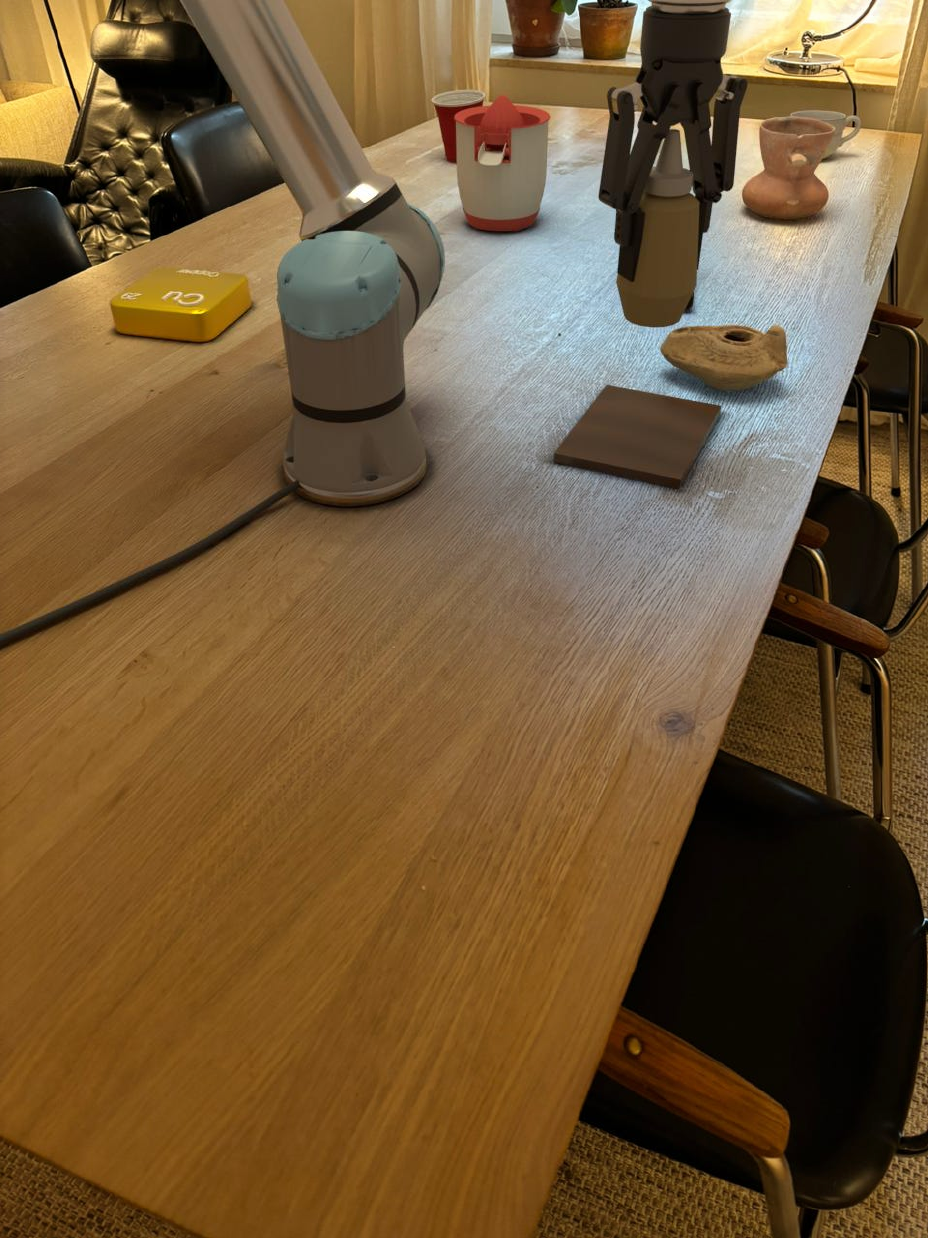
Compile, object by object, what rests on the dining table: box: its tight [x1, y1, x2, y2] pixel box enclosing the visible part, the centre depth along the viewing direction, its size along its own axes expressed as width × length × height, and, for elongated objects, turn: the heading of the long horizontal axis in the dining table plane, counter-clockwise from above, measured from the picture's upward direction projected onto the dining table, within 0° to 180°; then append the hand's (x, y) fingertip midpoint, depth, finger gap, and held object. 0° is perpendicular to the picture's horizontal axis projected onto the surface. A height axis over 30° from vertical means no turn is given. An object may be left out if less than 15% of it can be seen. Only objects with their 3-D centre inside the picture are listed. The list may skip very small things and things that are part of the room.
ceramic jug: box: [741, 115, 835, 220], centre depth 170 cm, size 18×14×14 cm
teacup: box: [789, 109, 862, 160], centre depth 199 cm, size 14×11×8 cm
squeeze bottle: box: [615, 128, 700, 328], centre depth 98 cm, size 8×8×18 cm
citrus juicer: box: [454, 94, 551, 233], centre depth 165 cm, size 16×17×20 cm
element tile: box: [109, 266, 252, 343], centre depth 139 cm, size 15×15×5 cm
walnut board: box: [553, 384, 723, 490], centre depth 112 cm, size 18×14×1 cm
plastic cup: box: [430, 89, 487, 164], centre depth 200 cm, size 11×11×12 cm
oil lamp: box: [659, 324, 788, 393], centre depth 120 cm, size 11×15×8 cm
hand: (657, 270), depth 100 cm, fingers closed on squeeze bottle, 6 cm apart
